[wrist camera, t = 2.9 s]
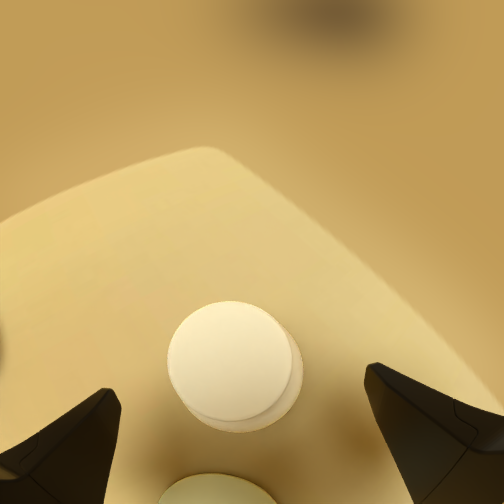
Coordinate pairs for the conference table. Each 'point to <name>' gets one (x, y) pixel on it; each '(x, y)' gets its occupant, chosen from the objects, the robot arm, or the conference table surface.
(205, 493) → the dish
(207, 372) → the supplement bottle
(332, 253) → the conference table surface
